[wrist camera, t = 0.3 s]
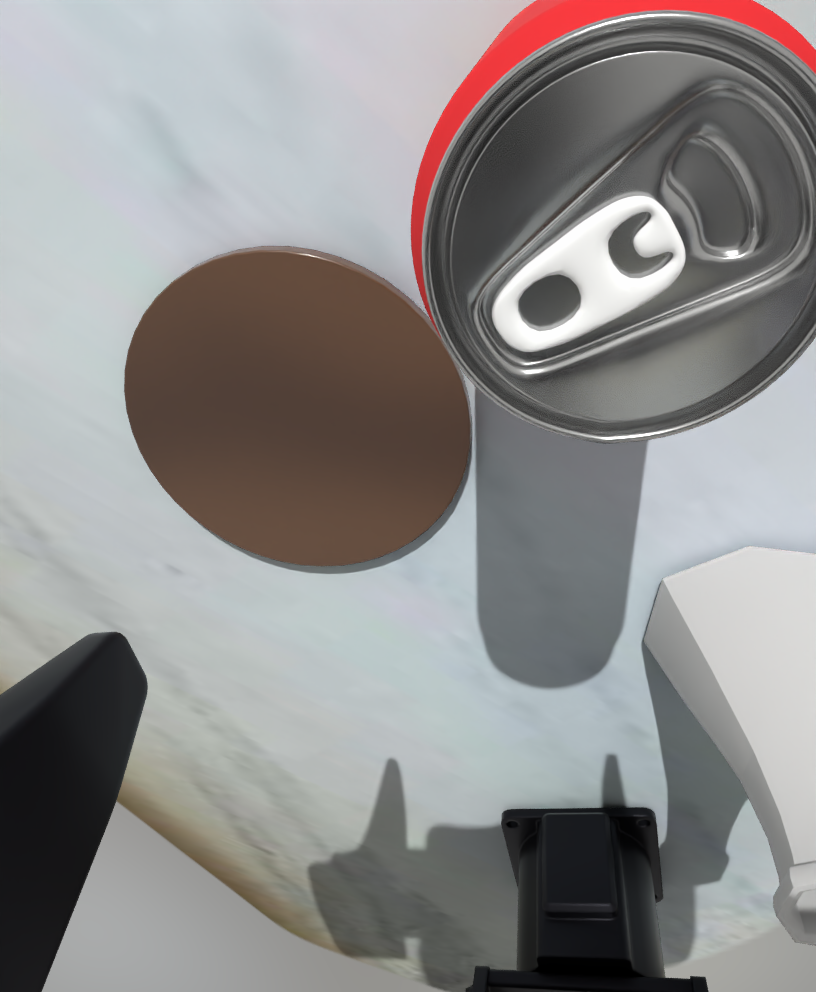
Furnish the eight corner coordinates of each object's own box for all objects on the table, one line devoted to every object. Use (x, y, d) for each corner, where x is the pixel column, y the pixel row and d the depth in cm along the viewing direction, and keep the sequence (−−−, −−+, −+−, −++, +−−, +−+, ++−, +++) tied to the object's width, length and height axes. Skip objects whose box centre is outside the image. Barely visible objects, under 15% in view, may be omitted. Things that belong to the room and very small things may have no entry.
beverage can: (731, 140, 18) (960, 322, 8) (542, 262, 20) (547, 521, 11) (626, -76, 16) (764, -170, 6) (430, 85, 19) (309, 199, 9)
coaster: (498, 542, 26) (497, 551, 25) (204, 571, 28) (199, 579, 28) (430, 209, 20) (428, 214, 20) (71, 283, 23) (62, 289, 22)
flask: (873, 524, 23) (1055, 816, 15) (865, 688, 27) (1008, 995, 19) (629, 555, 25) (675, 829, 17) (653, 705, 29) (699, 990, 21)
